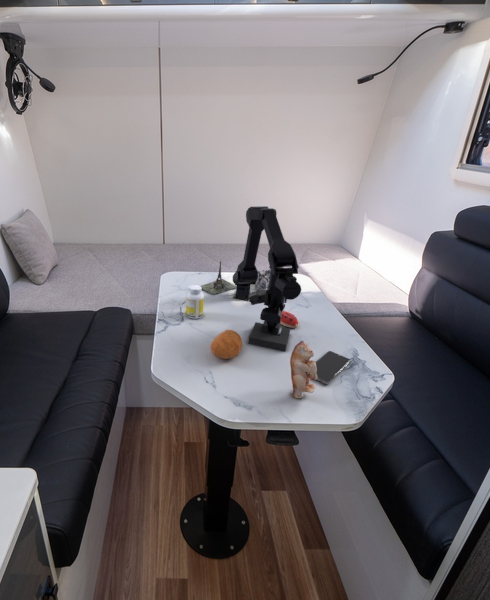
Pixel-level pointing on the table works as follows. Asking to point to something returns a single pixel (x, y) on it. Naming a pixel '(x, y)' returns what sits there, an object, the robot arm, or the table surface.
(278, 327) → the black block
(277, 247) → the robot arm
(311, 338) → the table surface
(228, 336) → the potato
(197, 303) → the pill bottle
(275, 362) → the table surface
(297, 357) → the figurine
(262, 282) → the mineral specimen
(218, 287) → the eiffel tower figurine
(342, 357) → the smartphone
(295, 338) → the table surface
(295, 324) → the ladybug figurine
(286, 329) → the notched pad
